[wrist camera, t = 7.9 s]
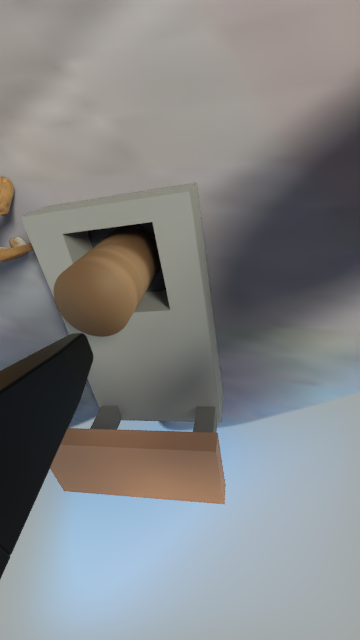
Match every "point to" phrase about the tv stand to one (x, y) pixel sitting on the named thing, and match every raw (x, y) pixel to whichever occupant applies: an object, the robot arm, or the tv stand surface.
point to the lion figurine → (3, 193)
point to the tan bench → (143, 460)
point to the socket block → (145, 304)
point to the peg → (108, 282)
